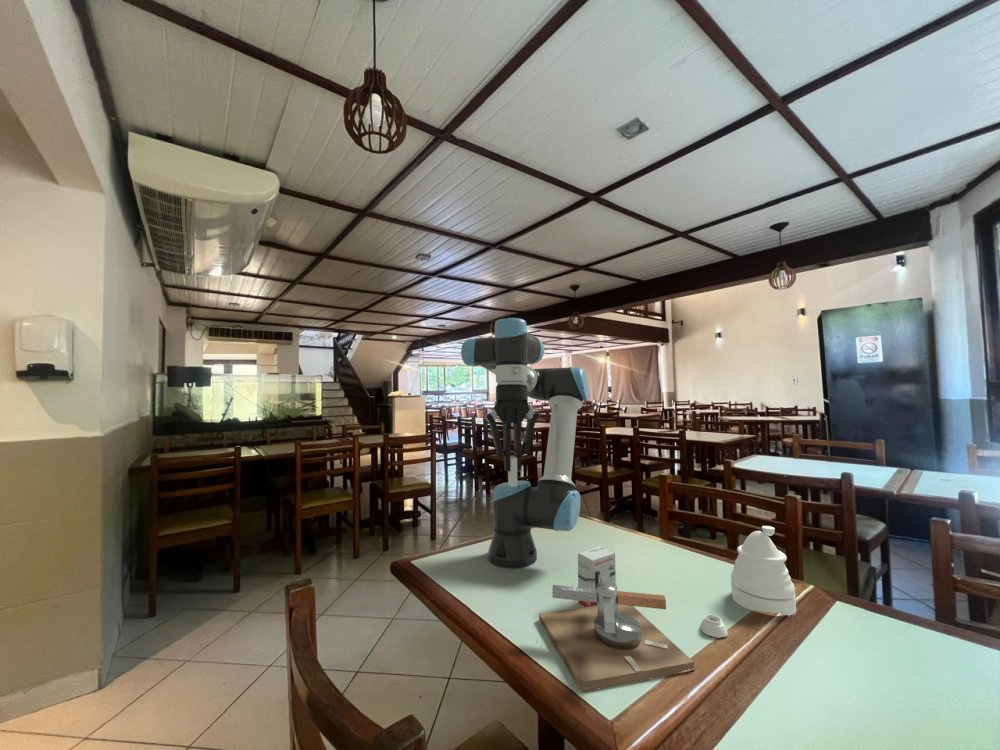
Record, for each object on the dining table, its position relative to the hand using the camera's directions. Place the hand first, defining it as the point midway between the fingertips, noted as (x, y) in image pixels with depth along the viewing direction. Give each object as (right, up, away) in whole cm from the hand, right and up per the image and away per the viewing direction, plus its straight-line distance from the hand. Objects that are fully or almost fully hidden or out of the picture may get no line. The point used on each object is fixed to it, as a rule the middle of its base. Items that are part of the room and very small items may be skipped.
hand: (512, 485), depth 90 cm
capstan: (+19, -27, -12) cm, 35 cm away
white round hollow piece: (+42, -29, -9) cm, 52 cm away
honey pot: (+60, -29, +3) cm, 67 cm away
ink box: (+21, -30, +4) cm, 36 cm away
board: (+19, -28, -12) cm, 36 cm away
